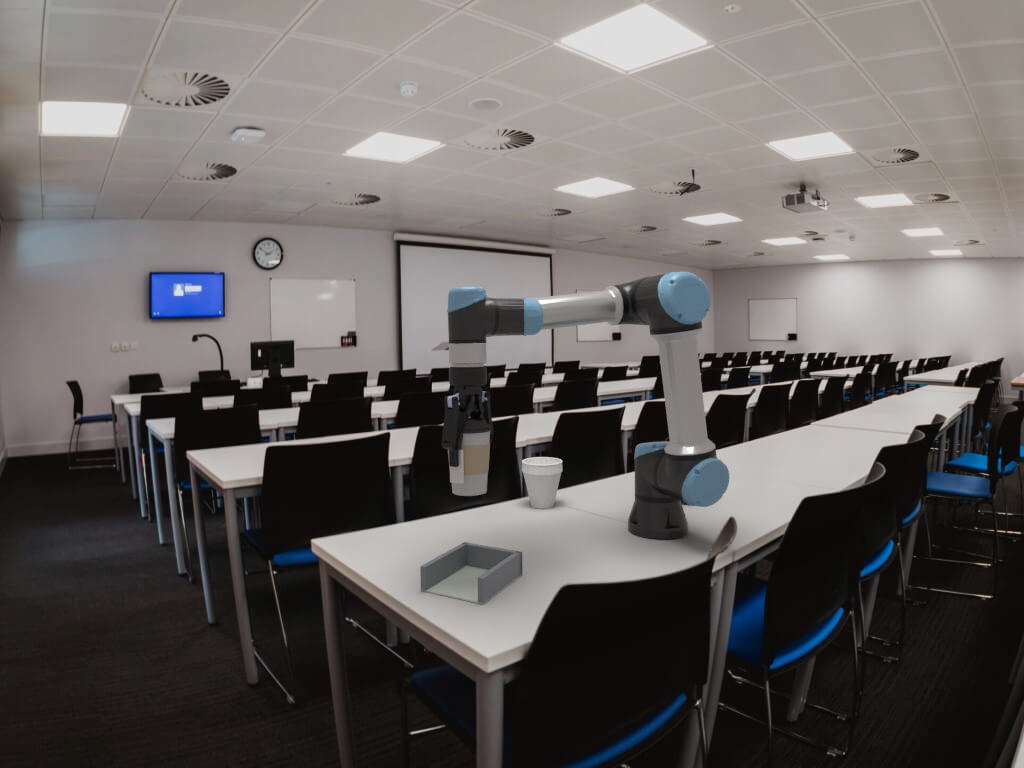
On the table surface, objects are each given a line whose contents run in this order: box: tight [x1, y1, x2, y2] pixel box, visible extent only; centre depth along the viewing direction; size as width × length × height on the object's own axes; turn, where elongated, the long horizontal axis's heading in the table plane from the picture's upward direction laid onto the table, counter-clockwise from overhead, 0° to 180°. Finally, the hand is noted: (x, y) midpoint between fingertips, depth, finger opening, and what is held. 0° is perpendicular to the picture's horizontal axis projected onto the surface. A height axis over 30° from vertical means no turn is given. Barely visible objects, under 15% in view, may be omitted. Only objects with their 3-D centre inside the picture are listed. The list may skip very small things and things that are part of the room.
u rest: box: [419, 541, 523, 605], centre depth 124 cm, size 14×16×5 cm
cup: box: [521, 456, 564, 510], centre depth 182 cm, size 12×12×14 cm
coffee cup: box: [447, 417, 491, 497], centre depth 122 cm, size 9×9×15 cm
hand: (469, 477), depth 122 cm, fingers closed on coffee cup, 8 cm apart
